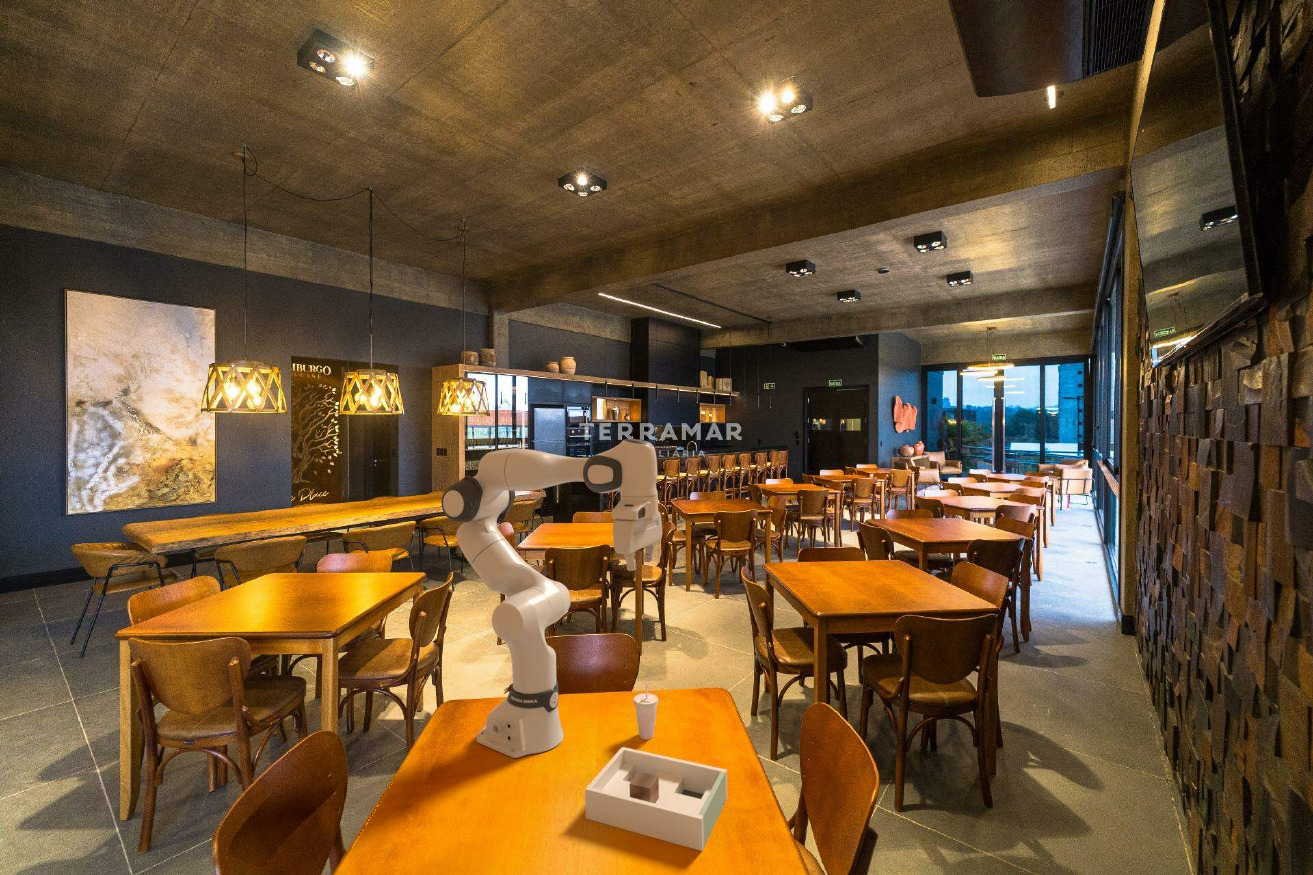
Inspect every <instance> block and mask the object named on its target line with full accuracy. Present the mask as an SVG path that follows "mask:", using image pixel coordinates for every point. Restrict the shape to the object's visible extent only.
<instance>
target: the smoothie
mask: <svg viewBox="0 0 1313 875" xmlns="http://www.w3.org/2000/svg"><path fill="white" fill-rule="evenodd" d="M644 683H645V684H644V685H645V687H644V688H645V693H639V694H637V695H636V696H634V698H633V704H634V707H635V713H636V714H635V715H636V721H637V728H638V735H639V738H640V739H642V740H651V739H653V737H654V734H655V727H656V726H655V725H656V716H657V705H658V704H659V697H658V696H657V695H655V694H653V693H649V692H648V691H649V690H648V682H647V681H646V682H644Z"/></svg>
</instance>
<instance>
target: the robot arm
mask: <svg viewBox="0 0 1313 875" xmlns="http://www.w3.org/2000/svg"><path fill="white" fill-rule="evenodd" d="M657 459H658V458H657V453H656V448H655V446H654V445H653V444H652V443H651V442H650V441H648V440H643V439H638V438H637V439H635V438H625V439H623V440H621V442H620V443H619V444H618V445H616V446H614V447H613V448H610V449H608V450H606V451H603V452H601V453H598V454H594V455H592V456H590V457H572V456H565V455H560V454H554V453H548V452H544V451H542V450H541V451H540V450H535V449H527V448H508V449H507V448H506V449H500V450H494V451H490V452H487V453H486V454H484V456H482V457H481V459H480V461H479V464H478V466H477V467H478V469H477V470H478V471H477V473H476V475H475V476H471V475H465V476H464V477H463V478H461V479H460V480H458V481H457V482H455V483H453V484H451V485H450V486H448V487H447V488H446V489H445V490H444V492H443V494H442V497H441V500H440V501H441V502H440V503H441V510H442V512H443V513H444V515H445V517H446V518H447V519H448V520H450V521H452V522H455V523H462V524H461V525H460V526H459V527H458V529H457V531H456V534H455V535H456V542H457V544H458V546H459V548H460V550H461V552H462V554H463V556H464V557H465V558H466V561H467V562H468V563H469V565H470V566H471V567H472V569H473V570H474V572H475V573H476V574H477V575H478V576H479V578H480V579H481V580H482V581H483V584H485V586H486V587H487V588H488V589H489V590H491V591H492V592H496V593H500V594H502V595H505V597H507V598H505V599H504V600H503V601H502V602H501V603H499V604H497V606H496V607H495V608H494V610H493V611H492V615H491V624H492V625H491V627H492V629H493V631H494V632H495V633H494V634H496V636H497V637H498V638H499V639H500V640H502V641H503V642H505V643H506V645H507V647H508V650H509V653H510V657H511V666H512V667H511V668H512V669H511V670H512V671H511V672H512V683H510V684H509V685H508V686H507V687H506V688H505V689H503V691H504V692H503V695H506V694H507V693H508V695H507V697H506V698H505V699H504V700H502V701H501V702H500V703H499V704H498V705H496V706H495V707H494V708H493V709H492V710H490V712H489V713H488V715H487V717H486V718H487V719H486V723H485V726H484V727H483V728H482V729H480V731H479V732H478V733H477V735H476V738H475V741H476V743H478V744H480V745H483V746H485V747H486V748H487V747H488V748H490V749H492V750H494V751H496V752H499V753H501V754H503V755H505V756H508V757H511V758H512V759H517V758H521V757H524V756H526V755H534V754H538V753H543V752H546V751H549V750H551V749H553V748H555V747H557V746H558V745H559V744H561V742H563V739H564V735H565V734H564V731H563V728H562V723H561V720H560V715H559V714H560V713H559V682H558V680H557V654H556V651H555V649H554V648H553V647H552V646H550V645H548V643H547V642H546V637H545V630H546V628H547V627H549V626H551V625H553V624H555V623H556V622H558V621H559V620H560V619H561V618H563V616H564V615H565V614H566V613H567V612H568V611H569V609H570V607H571V603H572V601H571V600H572V599H571V598H572V597H571V594H570V591H569V589H568V587H567V586H565V584H563V583H561V582H560V581H556V580H552V579H550V578H548V577H546V576H545V575H543V574H541V573H540V572H539V571H537V570H536V569H534V567H532V566H531V565H529V564H528V563H527V562H526V561H525V560H524V559H523V558H522V557H521V556H520V555H519V553H518V552H517V551H516V550H515V548H514V547H513V546H512V545H511V544H510V542H509V541H508V540H507V539H506V538H505V537H504V535H503V534H502V532H500V530H499V528H498V524H497V523H500V522H502V521H504V520H505V519H506V517H507V516H506V515H507V514H508V513H509V511H510V510H511V509H512V507H513V505H514V503H515V499H516V492H531V491H537V490H542V489H547V488H550V487H554V486H558V485H562V484H566V483H571V482H572V483H574V482H584V484H585V485H586V487H587V488H588V489H589V490H591V491H592V492H594V493H597V494H607V493H613V492H619V493H620V500H619V501H618V503H617V504H616V506H614V507H613V508H612V509H611V518H612V519H613V520H614V521H613V524H612V525H613V526H612V539H613V540H612V541H613V549H614V551H615V553H616V554H618V555H619V554H621V555H623V557H624V559H625V562H626V569H627V571H629V572H634V571H635V570H637V561H635V556H636V552H637V551H638V550H641V549H643V548H645V550H644V552H645V553H644V554H643V562H644V563H651V562H653V560H654V555H653V554H654V552H655V547H656V543H657V542H658V541H661V540H662V537H663V523H662V514H661V512H660V511H659V493H658V489H657V480H658V461H657Z"/></svg>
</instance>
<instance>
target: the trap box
mask: <svg viewBox="0 0 1313 875" xmlns="http://www.w3.org/2000/svg"><path fill="white" fill-rule="evenodd" d="M638 772H643V773H647V774H652V775H656V776H659V799H658V800H657V802H656V803H651V802H647V801H643V800H639V799H635V798H631V797H630V782H631V781H632V780H633V778H634V777H635V776H636V775H637V773H638ZM584 795H585V796H584V797H585V798H584V802H585V806H584V807H585V819H586V820H589V821H594V822H596V823H600V824H604V825H607V826H611V827H614V828H615V827H616V828H618V829H622V830H624V831H629V832H632V833H636V834H640V835H643V836H645V837H646V836H647V837H650V838H653V839H658V840H661V841H664V842H668V843H672V844H675V845H678V846H682V847H686V848H689V849H692V850H696V851H700V852H703V851H704V849H705V847H706V844H707V842H708V840H709V838H710V835H711V833H712V831H713V829H714V827H715V825H716V823H717V820H718V818H719V816H720V815H721V812H722V811H723V807H724V806H725V803H726V802H727V799H728V770H727V769H726V768H720V767H716V766H710V765H708V764H707V765H705V764H702V763H698V762H693V761H688V760H684V759H679V758H674V757H670V756H665V755H660V754H655V753H653V752H647V751H643V750H638V749H633V748H629V747H625V746H622V747H621V748H620V749H618V751H617V752H616V753H615V754H614V756H612V758H611V759H610V760H609V761H608V762H607V764H606V765H605V766H604V767H603V768H602V769H601V770H600V771H599V772H598V774H597V775H596V776H595V777H594V778H593V779H592V781H590V782H589V784H588V785H587V786H586V788H584Z"/></svg>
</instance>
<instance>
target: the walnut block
mask: <svg viewBox="0 0 1313 875" xmlns="http://www.w3.org/2000/svg"><path fill="white" fill-rule="evenodd" d="M630 797H631V798H635V799H639V800H643V801H647V802H651V803H656V802H657V800H658V799H659V776H656V775H652V774H647V773H643V772H638V773H637V775H636V776H635V777H634V778H633V780H632V781H631V782H630Z"/></svg>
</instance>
